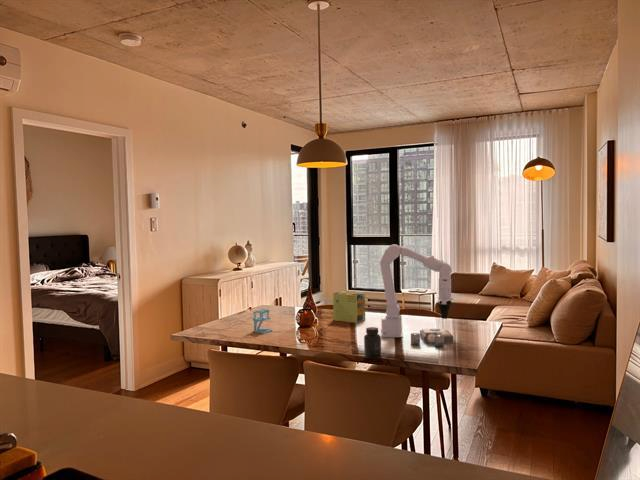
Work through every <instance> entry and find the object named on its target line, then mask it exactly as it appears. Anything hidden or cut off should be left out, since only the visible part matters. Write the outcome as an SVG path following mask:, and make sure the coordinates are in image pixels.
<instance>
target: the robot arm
mask: <svg viewBox="0 0 640 480" xmlns="http://www.w3.org/2000/svg"><path fill="white" fill-rule="evenodd" d="M398 257H401V258H402V257H404V258H405V257H408V258H410V259H413V260H415V261H418V262H420V263H422V265H423V267H425V268H427V269H429V270H431V271H433V272H435V273H437V272H438V273H439V274H438V301H439V303H438V304H437V305H438V307H439V310H440V316H441V319H442V320H447V319H448V316H449V310H450V307H451V304H452V301H454V299H455V298H454V297H452V278H451V277H452V272H453V270H452V267H451V265H450V264H449V263H447V262H446V261H445V262H444V260H443V259H442V260H440V259H438V258H436V257H435V256H434V255H427V256H424V255H422V254H421V253H418V252H416V251H414V250H413V249H410V248H408V247H405V246H402V245H398V244H396V243H395V244H394V243H393V244H391V245H389V246H388V247H387V248H386V249H385V251H384V252H383V255H382V257H381V260H380V261H379V264H380V265H379V266H380V271H381V276H382V281H383V288H384V294H385V298H386V310H385V314H386V315H385V317H381V330H380V334H381V335H382V336H381V337H382V338H403V334H402V320H401V319H402V317H401V315H400V312H401V306H400V304H399V303H398V300H397V295H396V290H395V284H394V279H393V274H392V269H391V268H392V267H391V264H392V263H393V262H394V261H395V260H396V259H397V258H398Z"/></svg>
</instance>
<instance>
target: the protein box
mask: <svg viewBox="0 0 640 480" xmlns="http://www.w3.org/2000/svg"><path fill="white" fill-rule="evenodd" d="M332 295H333V298H332V301H333V302H332V303H333V309H332V310H333V312H332V313H333V321H338V322H346V323H355V324H357V323H360V322H363V321H365V320H366V292H361V291H360V292H359V291H343V290H341V291H337V292H334V293H333V294H332Z"/></svg>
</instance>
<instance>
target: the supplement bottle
mask: <svg viewBox="0 0 640 480" xmlns="http://www.w3.org/2000/svg"><path fill="white" fill-rule="evenodd" d="M365 333H366V334H365V335H364V336H363V344H364V345H363V346H364V347H363V348H364V349H363V350H364V351H363V352H364V358H365V359H367V360H378V359H381V357H382V338H381V337H382V336H381V334H379V328H378V327H374V326H372V327H367V328H365Z"/></svg>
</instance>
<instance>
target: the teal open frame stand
mask: <svg viewBox="0 0 640 480" xmlns="http://www.w3.org/2000/svg"><path fill="white" fill-rule="evenodd" d="M256 313H258V314H259V316H256ZM252 314H253V316H254V317H252V321H253V333H254V332H255V333H258V334H262V335H265V334H269V333H271V332H273V328H261V326H262V324H263V322H265V321H268V320H271V317H270V316H269V315H270V309H268V308H261V309H257V310H255V311H253V313H252ZM264 314H266V316H264ZM257 324H258V325H257Z"/></svg>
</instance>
